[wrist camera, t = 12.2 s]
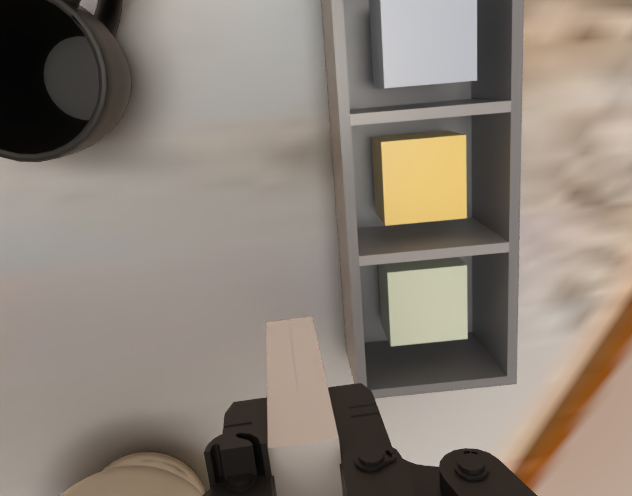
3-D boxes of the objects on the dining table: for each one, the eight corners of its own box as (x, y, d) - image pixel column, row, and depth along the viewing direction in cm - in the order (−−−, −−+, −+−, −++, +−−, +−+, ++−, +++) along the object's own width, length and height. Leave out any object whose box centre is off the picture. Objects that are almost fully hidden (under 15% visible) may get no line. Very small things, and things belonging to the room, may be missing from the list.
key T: (375, 213, 37) (385, 225, 34) (371, 137, 36) (381, 142, 33) (449, 206, 38) (466, 218, 34) (448, 130, 36) (466, 134, 33)
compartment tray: (346, 350, 42) (358, 399, 35) (307, -187, 32) (313, -259, 26) (479, 337, 42) (516, 383, 35) (479, -199, 33) (529, -273, 26)
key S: (373, 88, 33) (384, 88, 30) (368, -3, 32) (379, -14, 28) (456, 81, 34) (477, 80, 30) (455, -10, 32) (476, -22, 29)
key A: (381, 323, 40) (390, 346, 36) (377, 255, 38) (387, 272, 35) (451, 316, 40) (467, 338, 36) (450, 249, 38) (467, 265, 35)
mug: (207, 7, 35) (180, -23, 26) (113, 169, 37) (57, 194, 28) (86, -78, 33) (11, -142, 24) (-4, 97, 35) (-104, 99, 26)
